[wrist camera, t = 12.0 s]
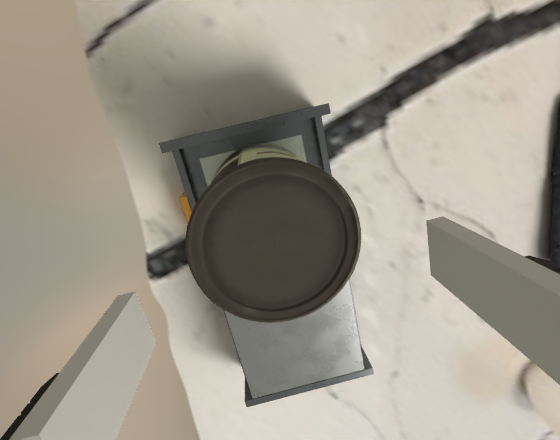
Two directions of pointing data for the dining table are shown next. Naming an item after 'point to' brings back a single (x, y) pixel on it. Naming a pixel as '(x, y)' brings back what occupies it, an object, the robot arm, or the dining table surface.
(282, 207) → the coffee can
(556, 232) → the black pouch
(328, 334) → the rack
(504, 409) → the dining table surface
